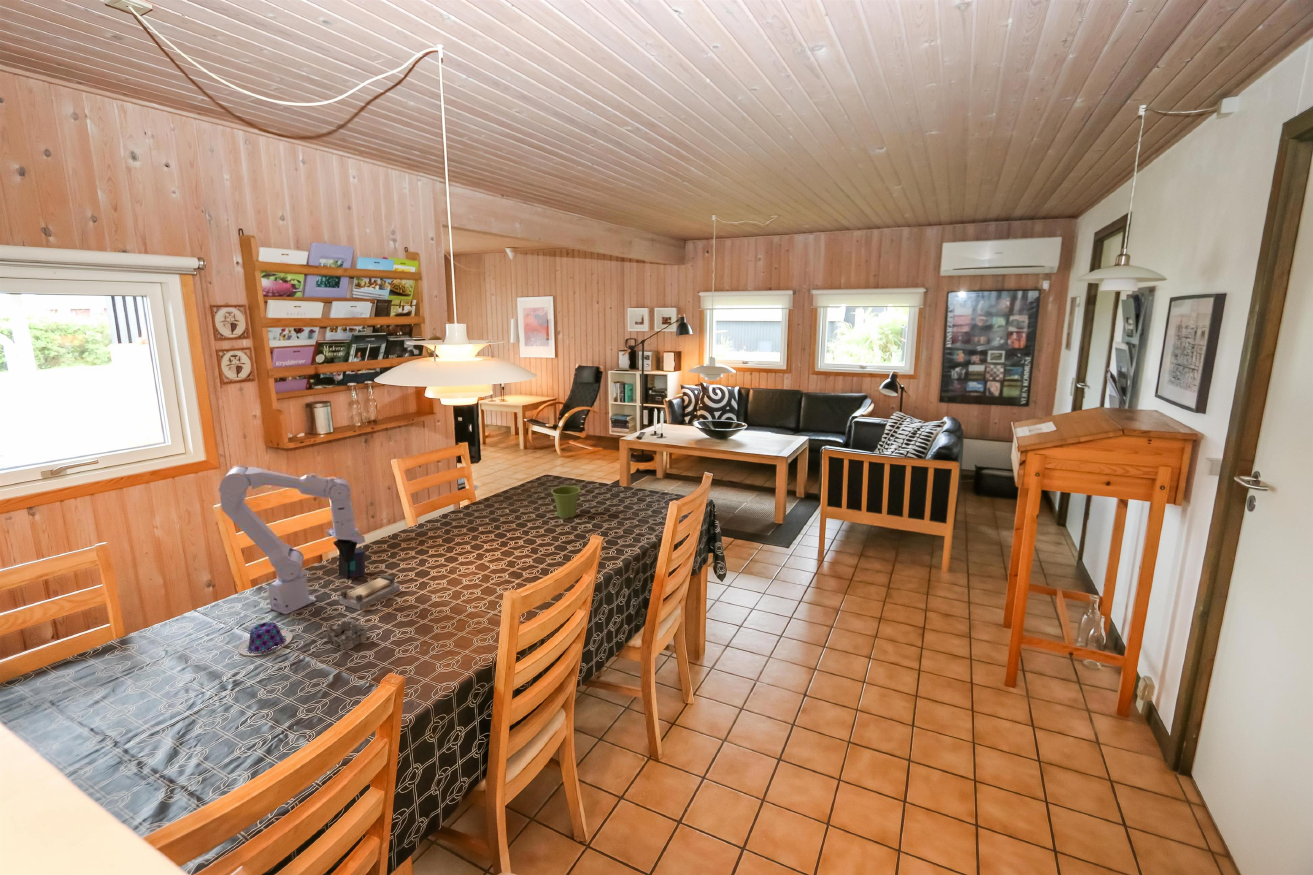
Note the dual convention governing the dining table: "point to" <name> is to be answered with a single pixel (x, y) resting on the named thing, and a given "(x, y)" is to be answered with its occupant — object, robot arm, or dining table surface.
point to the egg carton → (347, 634)
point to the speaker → (353, 564)
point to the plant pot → (566, 500)
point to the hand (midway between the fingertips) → (349, 561)
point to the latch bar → (368, 588)
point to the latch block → (372, 598)
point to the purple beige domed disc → (265, 638)
